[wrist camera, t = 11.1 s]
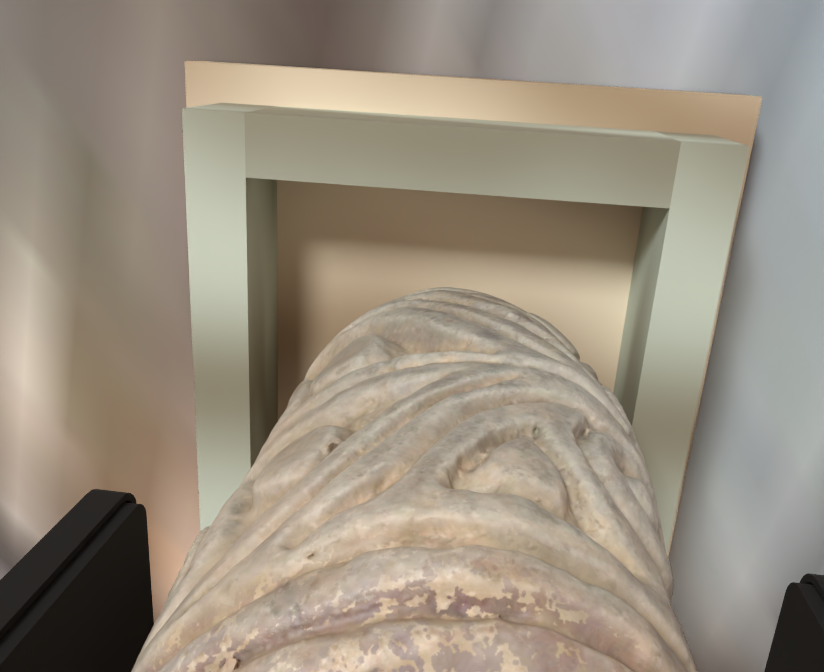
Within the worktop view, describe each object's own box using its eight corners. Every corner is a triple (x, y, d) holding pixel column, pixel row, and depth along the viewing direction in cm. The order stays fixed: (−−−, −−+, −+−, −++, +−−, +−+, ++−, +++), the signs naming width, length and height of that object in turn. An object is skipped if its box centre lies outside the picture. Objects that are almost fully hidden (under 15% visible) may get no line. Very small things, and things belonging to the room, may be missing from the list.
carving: (662, 386, 18) (956, 963, 6) (427, 561, 20) (343, 1210, 9) (476, 185, 16) (441, 460, 5) (249, 395, 19) (-110, 899, 8)
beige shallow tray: (640, 619, 21) (668, 720, 18) (221, 572, 22) (174, 660, 19) (743, 94, 17) (806, 102, 13) (204, 60, 17) (137, 60, 14)
